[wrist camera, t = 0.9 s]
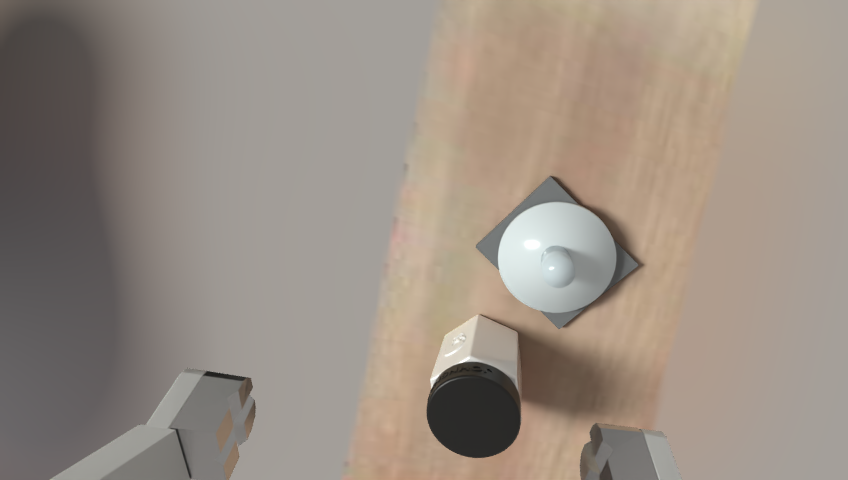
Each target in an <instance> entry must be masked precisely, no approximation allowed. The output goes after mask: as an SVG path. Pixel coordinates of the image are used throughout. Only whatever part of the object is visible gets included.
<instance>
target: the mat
mask: <svg viewBox="0 0 848 480" xmlns="http://www.w3.org/2000/svg"><path fill="white" fill-rule="evenodd" d="M548 201H566V202H571V203H575V204H578V203H577V202H576V201H575V200H574V199H573V198H572V197H571V196H570V195H569V194H568V193H567V192H566V191H565V190H564V189H563V188H562V187H561V186H560V185H559V184H558V183H557V182H556V181H555V180H554V179H553V178H552V177H551V176H549V177H548V178H547V179H546V180H545V181H544V182H543V183H542V184H541V185H540V186H539V187H538V188H537V189H536V190H534V191H533V192H532V193H531V194H530V195H529V196H528V197H527V198H526V199H525V200H524V201H523V202H522V203H521V204H520V205H518V206H517V207H516V208H515V209H514V210H513V211H512V212H511V213H510V214H509V215H508V216H507V217H506V218H505V219H504V220H502V221H501V222H500V223H499V224H498V225H497V226H496V227H495V228H494V229H493V230H492V231H491V232H490V233H489V234H488V235H486V236H485V237H484V238H483V239H482V240H481V241H480V242H479V243H478V244H477V245H476V248H477V249H478V250H479V251H480V252H481V253H482V254H483V255H484V256H485V257H486V258H487V259H488V260H489V261H490V262H491V263H492V264H493V265H494V266H495V267H496V268H497V269H498V270H499V266H498V251H499V245H500V241H501V238H502V235H503V233H504V231H505V229H506V228H507V226H508V225H509V223H510V222H511V221H512V220H513V219H514V218H515V217H516V216H517V215H518V214H520V213H521V212H522V211H524V210H525V209H527V208H529V207H531V206H533V205H536V204H539V203H542V202H548ZM578 205H579V204H578ZM613 240H614V239H613ZM614 244H615V248H616V267H615V271H614V274H613V277H612V279H611V281H610V283H609V285H608V286H607V288H606V289H605V290H604V292H603V293H602V294H604V293H605V292H606V291H607V290H609V289H610V288H611V287H612V286H614V285H615V284H616V283H617V282H619V281H620V280H621V279H622V278H624V277H625V276H626V275H627V274H629V273H630V272H631V271H632V270H634V269H635V268H636V267H637V266H639V265H638V264H637V262H636V261H635V260H634V259H633V258H632V257H631V256H630V255H629V254H628V253H627V252H626V251H625V250H624V249H623V248H622V247H621V246H620V245H619V244H618V243H617V242H616V241H615V240H614ZM602 294H601V295H602ZM601 295H600V296H601ZM600 296H599V297H600ZM599 297H598V298H599ZM595 300H596V299H595ZM595 300H594V301H595ZM594 301H593V302H594ZM591 303H592V302H591ZM591 303H590V304H591ZM590 304H588V305H586V306H584V307H582V308H579V309H577V310H573V311H569V312H563V313H551V312H544V311H541V312H542V313H543V314H544V315H545V316H546V317H547V318H548V319H549V320H550V321H551V322H552V323H553V324H554V325H555V326H556V327H557V328H558V329H560V328H561V327H562V326H564V325H565V324H566V323H567V322H569V321H570V320H571V319H572V318H574V317H575V316H576V315H577V314H579V313H580V312H581V311H582V310H584V309H585V308H586V307H587V306H589V305H590Z"/></svg>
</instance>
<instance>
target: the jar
mask: <svg viewBox="0 0 848 480" xmlns="http://www.w3.org/2000/svg"><path fill="white" fill-rule="evenodd" d="M430 382H431V391H430V394H429V398H428V403H427V420H428V424H429V427H430V429H431V431H432V433H433V434H434V436H435V437H436V438H437V439H438V441H439V442H440V443H441V444H442V445H444V446H445V447H446V448H448V449H449V450H451V451H453V452H455V453H457V454H460V455H463V456H466V457H472V458H484V457H490V456H494V455H496V454H499V453H501V452H502V451H504V450H506V449H507V448H508V447H509V446H510V445H511V444H512V443H513V442H514V440H515V439H516V437H517V435H518V433H519V430H520V425H521V360H520V350H519V340H518V333H517V332H516V331H514V330H512V329H510V328H508V327H505V326H503V325H501V324H499V323H497V322H494V321H492V320H490V319H488V318H486V317H483V316H481V315H476V316H474V317H473V318H471V319H470V320H468V321H467V322H465V323H463V324H462V325H460V326H459V327H457V328H455V329H454V330H452V331H451V332H449V333H447V334H446V335H445V337H444V340H443V343H442V346H441V349H440V352H439V355H438V358H437V361H436V364H435V367H434V370H433V373H432V376H431V379H430Z"/></svg>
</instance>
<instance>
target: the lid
mask: <svg viewBox="0 0 848 480" xmlns="http://www.w3.org/2000/svg"><path fill="white" fill-rule="evenodd" d="M498 266H499V271H500V274H501V277H502V280H503V282H504V283H505V285H506V287H507V288H508V290H509V291H510V292H511V293H512V294H513V295H514V296H515V297H516V298H517V299H518V300H519V301H521V302H522V303H524V304H525V305H527V306H529V307H531V308H534V309H537V310H540V311H544V312H551V313H563V312H569V311H573V310H577V309H579V308H582V307H584V306H586V305H588V304H590V303H591V302H593V301H594V300H595V299H597V298H598V297H599V296H600V295H601V294H602V293H603V292H604V290H605V289H606V288H607V286H608V285H609V283H610V281H611V279H612V277H613V274H614V271H615V267H616V248H615V244H614V240H613V238H612V236H611V234H610V232H609V230H608V229H607V227H606V226H605V224H604V223H603V222H602V221H601V219H600V218H599V217H598V216H596V215H595V214H594V213H593V212H591V211H590V210H588V209H587V208H585V207H583V206H581V205H578V204H575V203H571V202H566V201H548V202H542V203H539V204H536V205H533V206H531V207H529V208H527V209H525V210H524V211H522V212H521V213H520V214H518V215H517V216H516V217H515V218H514V219H513V220H512V221H511V222H510V223H509V225H508V226H507V228H506V229H505V231H504V233H503V235H502V238H501V241H500V245H499V251H498Z"/></svg>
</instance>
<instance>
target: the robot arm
mask: <svg viewBox="0 0 848 480" xmlns="http://www.w3.org/2000/svg"><path fill="white" fill-rule="evenodd" d="M252 388H253V386H252V382H251V378H248V377H242V376H236V375H229V374H223V373H216V372H210V371H204V370H197V369H190V368H187V369H185V370H184V371H183V372H182V373H181V374H180V375H179V376H178V378H177V379H176V381H175V382H174V384H173V385H172V387H171V388H170V390H169V391H168V393H167V394H166V396H165V397H164V399H163V400H162V402H161V403H160V405H159V406H158V408H157V409H156V411H155V412H154V414H153V415H152V417H151V418H150V420H149V421H148V422H147V424H146V425H138V426H136V427H135V428H133V429H131V430H130V431H128V432H126V433H125V434H123V435H122V436H120V437H118V438H117V439H115V440H114V441H112V442H110V443H109V444H107V445H105V446H104V447H102V448H101V449H99V450H97V451H96V452H94V453H92V454H91V455H89V456H88V457H86V458H84V459H83V460H81V461H79V462H78V463H76V464H75V465H73V466H71V467H70V468H68V469H66V470H65V471H63V472H62V473H60V474H58V475H57V476H55V477H53V478H52V479H50V480H190V479H194V480H229V478H230V476H231V474H232V472H233V470H234V468H235V465H236V463H237V461H238V459H239V452H238V446H239V445H241V444H242V443H243V442H245V441H246V440H247V439H248V437H249V434H250V432H251V429H252V426H253V422H254V418H255V400H254V399H253V398H252V397H251V396H250V395H249V394H250V392H251V390H252ZM590 438H591V441H590V442H588V443H586V444H585V445H584V447H583V450H582V453H581V459H580V476H581V480H682V478H681V476H680V473H679V470H678V467H677V465H676V462H675V460H674V457H673V454H672V451H671V449H670V446H669V443H668V441H667V438H666V436H665V435H664V433H663V432H660V431H653V430H645V429H638V428H634V427H625V426H617V425H608V424H600V423H595V424H594V425H593V426H592V428H591V430H590Z"/></svg>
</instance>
